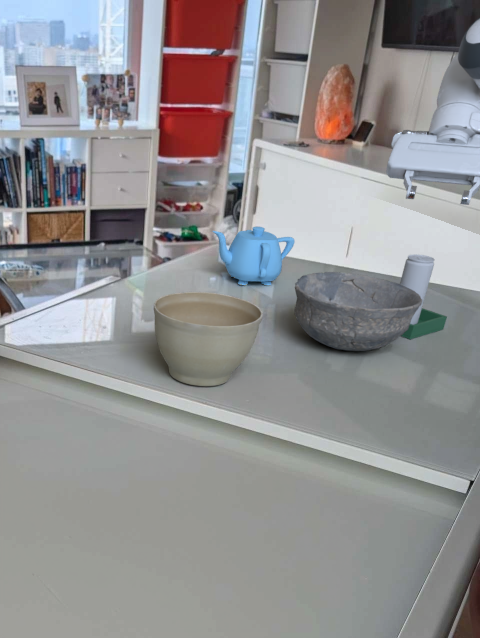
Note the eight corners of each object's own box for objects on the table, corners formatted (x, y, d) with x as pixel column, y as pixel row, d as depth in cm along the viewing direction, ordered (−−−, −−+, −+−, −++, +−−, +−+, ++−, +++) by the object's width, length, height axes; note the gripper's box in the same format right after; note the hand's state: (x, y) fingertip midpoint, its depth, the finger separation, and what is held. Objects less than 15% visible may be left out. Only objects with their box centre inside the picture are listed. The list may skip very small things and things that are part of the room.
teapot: (290, 284, 163) (301, 229, 157) (256, 294, 153) (266, 237, 148) (240, 271, 170) (249, 219, 164) (204, 281, 160) (212, 225, 154)
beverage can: (391, 325, 140) (408, 260, 133) (389, 317, 144) (405, 253, 137) (418, 329, 139) (437, 262, 132) (415, 320, 143) (433, 255, 136)
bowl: (433, 359, 128) (451, 301, 123) (338, 376, 120) (352, 315, 115) (350, 319, 144) (362, 266, 138) (261, 332, 136) (270, 276, 130)
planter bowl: (269, 392, 114) (282, 322, 108) (170, 401, 110) (177, 329, 104) (225, 352, 127) (234, 288, 121) (134, 359, 123) (139, 293, 117)
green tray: (397, 313, 148) (400, 300, 146) (443, 329, 141) (447, 316, 139) (363, 322, 143) (366, 309, 141) (410, 339, 136) (413, 326, 134)
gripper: (396, 117, 140) (379, 183, 138) (517, 125, 134) (501, 194, 131) (392, 141, 146) (376, 204, 144) (508, 150, 140) (493, 216, 137)
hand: (437, 199), depth 137 cm, fingers open, 8 cm apart
